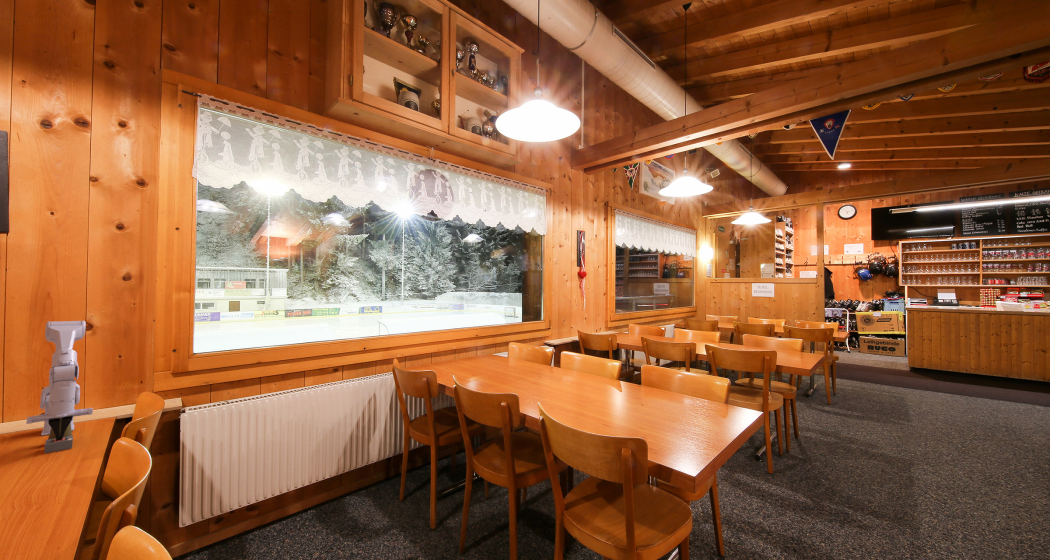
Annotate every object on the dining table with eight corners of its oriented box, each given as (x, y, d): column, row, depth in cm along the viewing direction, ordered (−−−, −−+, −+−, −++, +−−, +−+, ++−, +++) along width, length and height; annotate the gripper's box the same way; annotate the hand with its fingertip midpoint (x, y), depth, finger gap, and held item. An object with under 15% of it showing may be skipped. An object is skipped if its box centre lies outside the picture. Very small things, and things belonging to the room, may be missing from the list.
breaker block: (45, 448, 131) (46, 439, 131) (72, 444, 135) (73, 434, 135) (44, 453, 127) (44, 443, 127) (72, 448, 131) (72, 439, 131)
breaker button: (53, 445, 131) (53, 439, 131) (65, 443, 133) (65, 437, 133) (52, 447, 129) (53, 441, 129) (64, 445, 131) (65, 439, 131)
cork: (77, 440, 139) (80, 409, 139) (56, 446, 133) (58, 414, 133) (63, 439, 140) (65, 409, 140) (41, 445, 134) (43, 414, 134)
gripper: (26, 406, 124) (23, 448, 123) (93, 398, 135) (91, 436, 134) (29, 402, 128) (25, 443, 128) (93, 394, 139) (91, 432, 139)
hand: (59, 439), depth 131 cm, fingers closed, pressing on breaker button
